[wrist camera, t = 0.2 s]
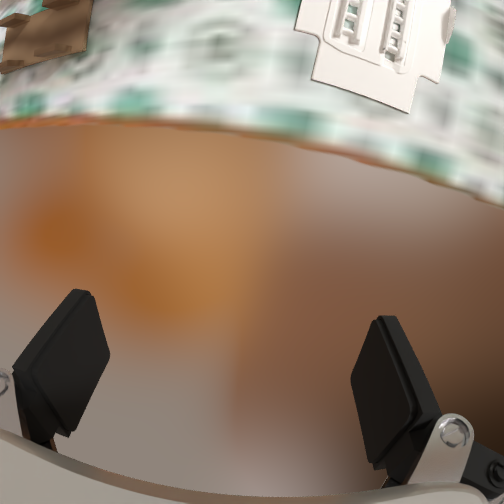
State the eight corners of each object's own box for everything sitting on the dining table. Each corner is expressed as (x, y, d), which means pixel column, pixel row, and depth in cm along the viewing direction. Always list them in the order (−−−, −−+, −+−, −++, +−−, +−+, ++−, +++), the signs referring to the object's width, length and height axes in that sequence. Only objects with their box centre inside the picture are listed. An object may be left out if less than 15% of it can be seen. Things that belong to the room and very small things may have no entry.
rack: (10, 27, 26) (-9, 24, 22) (94, -4, 26) (76, -12, 22) (4, 74, 30) (-16, 75, 26) (85, 50, 30) (66, 46, 26)
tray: (283, 74, 33) (286, 69, 29) (320, -78, 21) (324, -90, 18) (427, 122, 34) (440, 124, 30) (446, -27, 22) (457, -34, 19)
